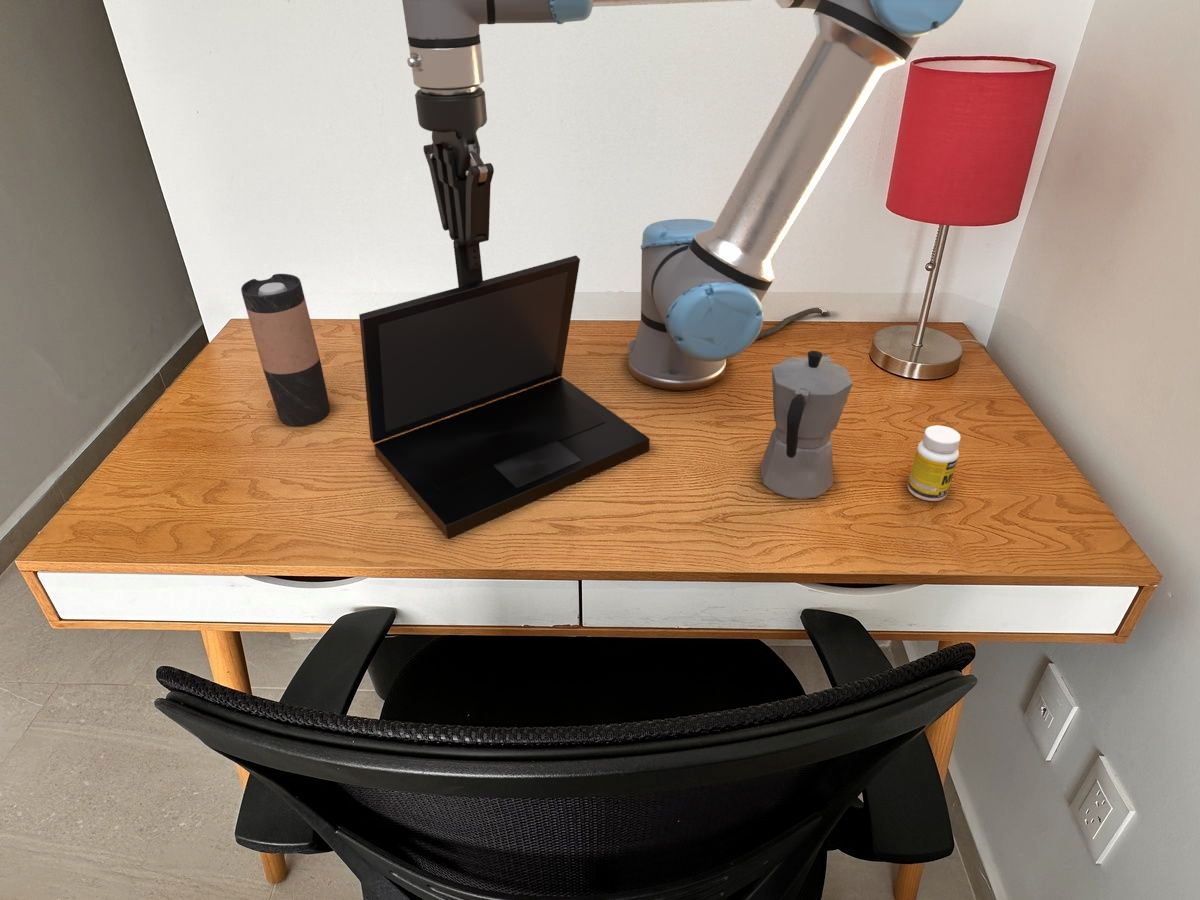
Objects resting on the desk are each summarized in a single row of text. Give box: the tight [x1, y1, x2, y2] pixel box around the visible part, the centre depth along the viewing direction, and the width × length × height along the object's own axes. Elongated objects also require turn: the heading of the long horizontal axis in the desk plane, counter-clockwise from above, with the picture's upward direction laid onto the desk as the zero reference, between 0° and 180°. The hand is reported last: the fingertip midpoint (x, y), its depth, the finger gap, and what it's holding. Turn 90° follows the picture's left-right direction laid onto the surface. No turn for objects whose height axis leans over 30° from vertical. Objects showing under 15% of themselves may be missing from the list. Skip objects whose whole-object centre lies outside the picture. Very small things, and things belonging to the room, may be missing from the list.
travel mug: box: [240, 273, 331, 428], centre depth 110 cm, size 8×8×20 cm
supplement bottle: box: [907, 424, 961, 502], centre depth 96 cm, size 5×5×8 cm
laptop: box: [373, 376, 651, 539], centre depth 106 cm, size 21×30×2 cm
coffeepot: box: [759, 350, 854, 500], centre depth 95 cm, size 15×9×18 cm, turn 155°
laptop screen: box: [358, 255, 581, 444], centre depth 105 cm, size 21×30×1 cm
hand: (471, 291), depth 99 cm, fingers closed
